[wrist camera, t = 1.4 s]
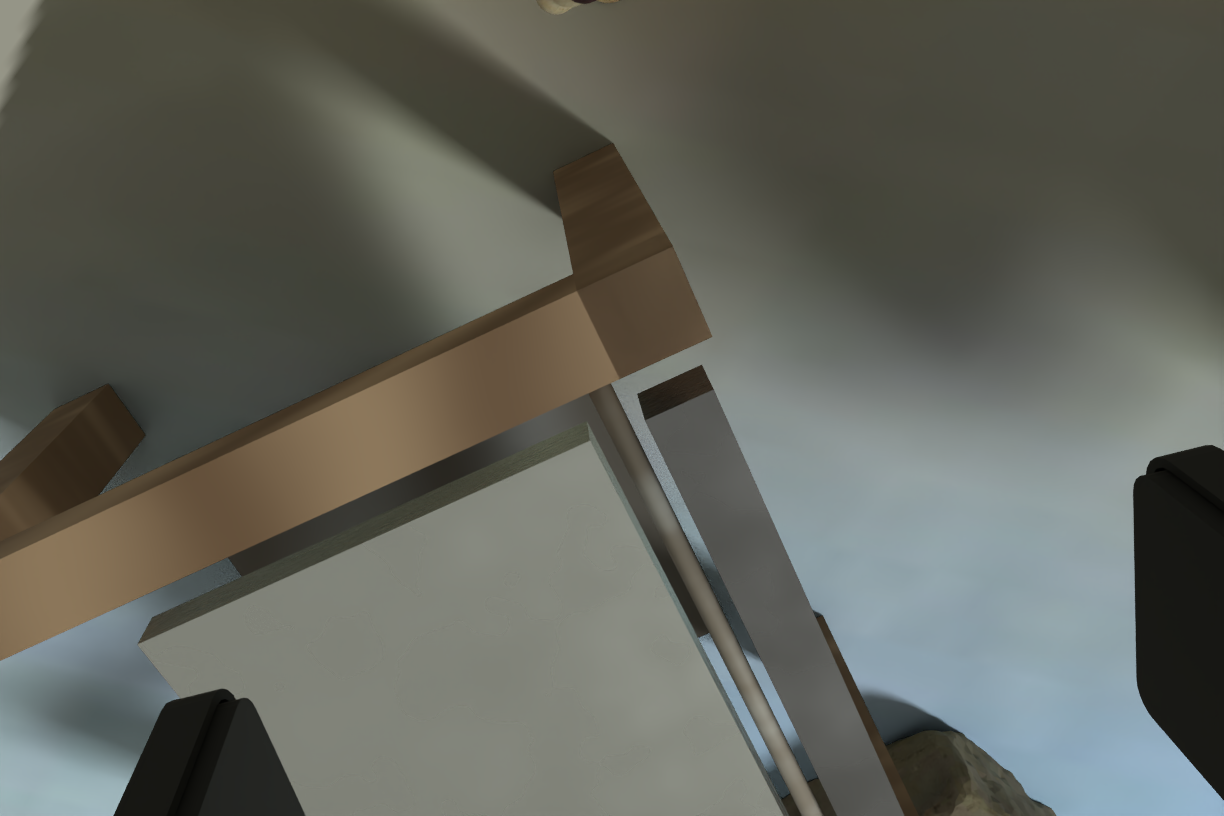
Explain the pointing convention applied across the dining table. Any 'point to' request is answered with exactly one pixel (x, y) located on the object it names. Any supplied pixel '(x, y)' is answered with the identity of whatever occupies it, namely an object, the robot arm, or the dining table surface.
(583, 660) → the trapdoor plate
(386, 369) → the frame
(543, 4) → the grandmother figurine
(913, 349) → the dining table surface
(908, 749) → the marble piece
